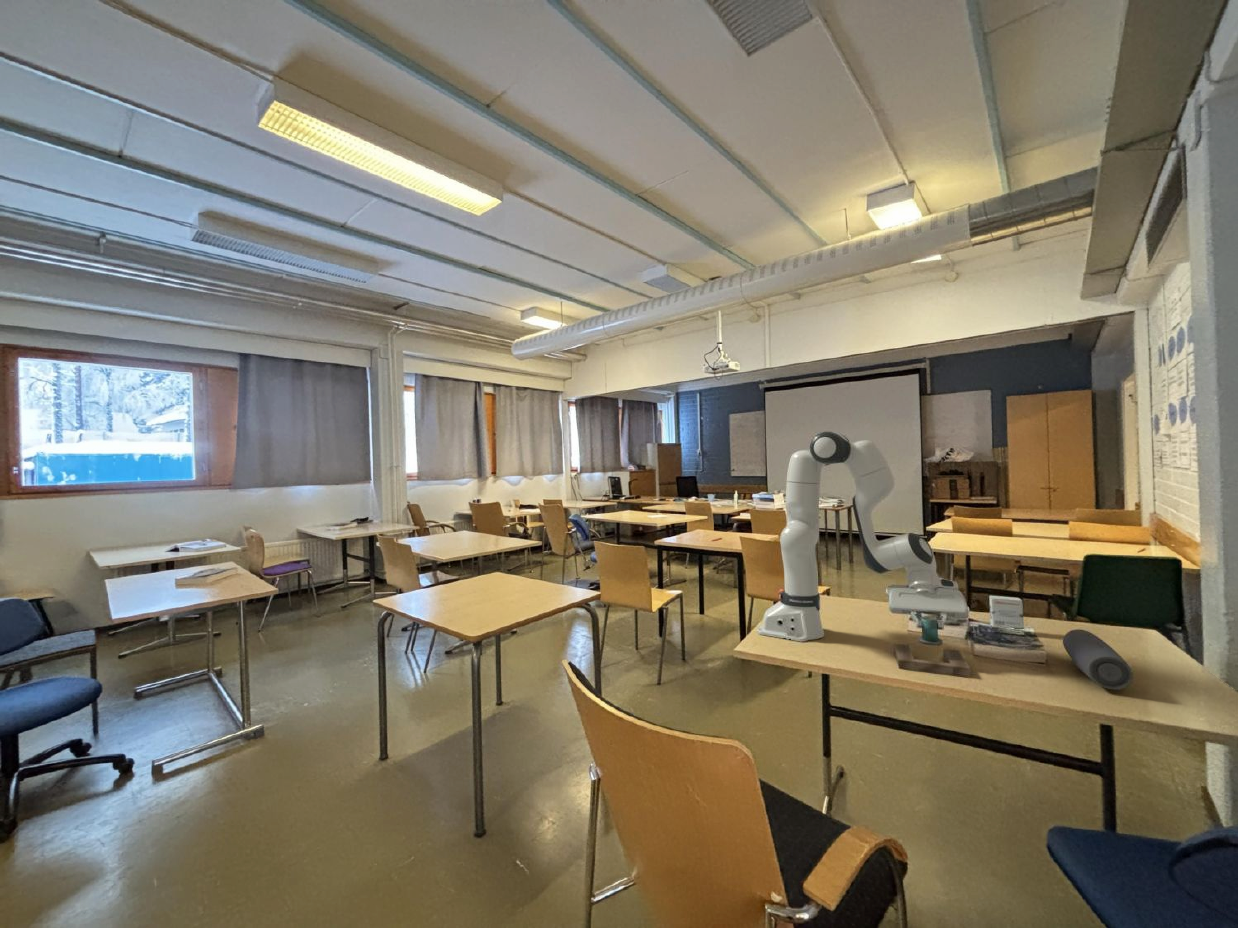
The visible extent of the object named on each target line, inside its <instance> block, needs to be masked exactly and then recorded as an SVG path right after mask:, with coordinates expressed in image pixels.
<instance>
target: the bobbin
mask: <svg viewBox="0 0 1238 928" xmlns="http://www.w3.org/2000/svg"><path fill="white" fill-rule="evenodd" d="M920 620H922V628H921V636H918V639H917V640H918V643H920V644H923V645H925V646H926V645H927V646H933V647H934V646H935V647H936V646H937V647H939V646H942V645H943V640H942V639H941V638H939V629H938V625H937V621H938V617H937V615H936V614H932V613H922V614H921V615H920Z"/></svg>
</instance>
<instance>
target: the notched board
mask: <svg viewBox="0 0 1238 928" xmlns="http://www.w3.org/2000/svg"><path fill="white" fill-rule="evenodd" d="M893 651H894V656H895V660H896V662H897V666H898V669H899V670H908V671H914V672H915V671H916V672H923V673H933V674H940V675H948V676H956V677H962V678H971V668H970V666H969V664H968V663H967V661H966V659H965V658H964V657H963V655H962V653H961V651H960V650H958V649H949V648H943V649H942V651H943V653H942V655H943V659H944V661H945V662H939V661H933V660H923V659H915V658H914V655H913V652H912V650H911V648H910V645H909V644H903V643H893Z"/></svg>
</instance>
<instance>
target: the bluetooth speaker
mask: <svg viewBox="0 0 1238 928" xmlns="http://www.w3.org/2000/svg"><path fill="white" fill-rule="evenodd" d="M1062 644H1063V645H1062V646H1063V648H1064V650H1065V651H1066V653H1067V654H1068V656H1069V658H1070V659H1071V660H1072V661H1073V663H1074V664H1075V665H1076V667H1077V668H1078V669H1079V670H1080V671H1081V672H1083V673H1084V674H1085V676H1087V677H1088V678H1089V680H1090V681H1092V680H1093V681H1094V683H1095V684H1097V685H1098V686H1100V687H1102V688H1104V689H1109V690H1124V689H1125V688H1128V687H1129V686H1130V685H1131V684H1132V682H1133V680H1134V674H1133V671H1132V669H1131V667H1130V666H1129V664H1128V662H1127V661H1126V660H1124V658H1123V657H1122V656H1121V655H1120V654H1119V653H1118V652H1117V651H1115V649H1113V647H1112V646H1110V645H1109V644H1108V643H1107V642H1105V641H1104V640H1103V639H1102V638H1100V637H1099V636H1098V635H1095V634H1094V633H1092V632H1091V631H1088V630H1085V629H1078V628H1077V629H1072V630H1070V631H1067V633H1066V634H1065V635H1064V636H1063V638H1062ZM1093 681H1092V682H1093Z"/></svg>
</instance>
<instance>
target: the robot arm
mask: <svg viewBox="0 0 1238 928" xmlns="http://www.w3.org/2000/svg"><path fill="white" fill-rule="evenodd" d="M835 464H844V465H845V466H846V467H847V469H849V471H850V474H851V475H852V478H853V479H854V483H855V495H854V496H853V497H852V499H851V500H852V508H853V509H852V511H853V514H854V519H855V523H856V527H857V531H858V534H859V539H860V543H861V550H862V557H863V561H864V564H865V565H866V567H867V568H868V569H869V570H871V571H872V572H874V573H877V574H881V575H882V574H885V573H888V572H891V571H894V570H897V569H902V568H904V569H905V571H906V576H905V578H906V579H905V580H906V584H902V585H901V584H900V585H898V584H890V585H888V586H887V587H886V591H885V593H886V595H887V597H888V610H889V612H891V613H892V614H895V615H897V614H899V615H910V618H911V620H913V622H914V623H915V627H916V628H918V629H922V620H921V619H919V618H918V617H917V616H921V614H922V613H932V614H936V615H937V618H938V617H939V618H940V621H938V620H937V625H938V630H943V631H944V629H945V623H946V620H947V618H952V619H953V618H954V619H966V617H967V616H968V614H969V609H968V603H967V601H966V599H965V596H964V595H963V593H962V592H961V591H960V590H959V584H958V582H956V581H954V580H951V579H947V578H943V577H940V576H939V574H938V573H937V561H936V557H935V555H934V554H935V553H934V552H933V549H932V546H931V544H930V543H929V542H928V541H927V540H926V539H925V538H924V537H923V536H920V535H918V534H916V533H914V532H908V533H904V534H900V535H896V536H893V537H889V538H886V539H882V540H878V539H877V536H876V533H875V528H874V525H873V520H872V511H873V510H874V509H875V507H876V506H878V505H879V504H881V502H883V500H885V499H886V498H888V496H889V495H890V494H891V493H892V491H893V490H894V487H895V478H894V474H893V472H892V470H891V468H890V466H889V464H888V461H887V459H886V458H885V457H884V455H883V453H882V452H881V450H880V449H879V448H878V446H877V445H876V443H874V442H873V441H871V440H867V439H866V440H865V439H864V440H858V441H855V442H850V441H849V439H848V438H847V437H846V435H844V434H842V433H840V432H837V431H832V430H829V431H822V432H819V433H818V434H816V435H815V436H814V437H812V439H811V441H810V445H809V449H805V450H803V449H802V450H798V451H796V452H794V453H792V454H791V456H790V458H789V463H788V466H787V467H788V468H787V472H786V473H787V474H786V484H785V486H786V487H785V502H784V503H785V513H786V526H785V527H784V528H783V530H782V531H781V533H780V537H779V538H780V539H779V542H780V550H781V558H782V563H783V575H784V577H783V578H784V589H782V588H780V589H779V590H778V602H776V603H775V604H773V605H772V606H770V607H769V608H767V609H766V610H765V612H764V615H763V619H762V621H763V620H764V621H763V624H761V626H760V627H758V628H757V626H758V624H760V623H761V622H762V621H760V622H759V623H758V624H757V626H756V633H758V634H759V635H762V636H767V637H773V638H778V639H783V638H786V639H785V640H789V639H791V641H795V642H802V643H803V642H807V641H809V640H818V639H822V638H823V637H824V636H825V631H824V629H823V625H822V620H821V615H820V614H821V613H820V610H821V596H820V592H819V575H818V565H817V557H816V545H817V543H818V542H819V538H820V491H821V473H822V471H823V468H824V467H826V466H830V465H835Z"/></svg>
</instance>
